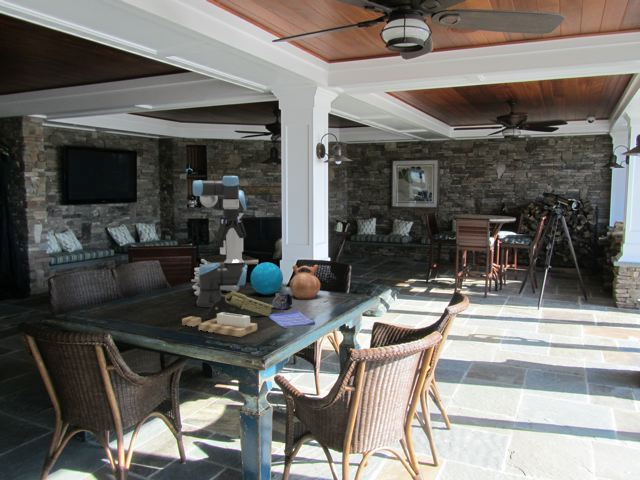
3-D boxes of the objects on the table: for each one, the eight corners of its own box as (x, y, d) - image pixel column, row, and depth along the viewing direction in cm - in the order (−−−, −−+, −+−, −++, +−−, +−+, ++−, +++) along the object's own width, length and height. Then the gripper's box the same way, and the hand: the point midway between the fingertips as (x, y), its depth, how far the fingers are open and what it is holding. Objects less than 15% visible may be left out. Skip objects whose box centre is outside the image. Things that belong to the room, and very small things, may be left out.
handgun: (206, 315, 268) (217, 284, 268) (262, 332, 276) (273, 303, 276) (206, 317, 264) (218, 286, 264) (263, 335, 272) (274, 304, 272)
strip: (217, 328, 246) (216, 313, 246) (222, 326, 250) (222, 311, 249) (245, 333, 239) (244, 317, 238) (250, 331, 242) (250, 315, 242)
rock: (291, 305, 285) (283, 288, 287) (274, 314, 287) (267, 296, 289) (298, 305, 295) (290, 289, 297) (282, 313, 297) (275, 297, 300)
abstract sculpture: (246, 261, 341) (199, 249, 334) (244, 281, 322) (194, 269, 315) (236, 289, 352) (191, 278, 345) (234, 310, 332) (186, 299, 326)
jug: (322, 294, 327) (322, 262, 325) (317, 300, 309) (317, 267, 307) (293, 293, 330) (293, 262, 328) (286, 299, 313) (286, 266, 311)
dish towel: (299, 315, 277) (299, 309, 277) (316, 325, 255) (316, 320, 255) (267, 318, 270) (267, 312, 270) (282, 329, 248) (282, 323, 248)
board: (198, 330, 246) (198, 323, 246) (216, 323, 257) (216, 317, 257) (240, 336, 234) (240, 330, 234) (257, 330, 246) (257, 323, 245)
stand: (182, 325, 255) (182, 318, 255) (190, 322, 261) (190, 316, 260) (192, 326, 252) (192, 320, 252) (201, 323, 257) (201, 317, 257)
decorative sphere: (258, 290, 341) (257, 259, 339) (287, 292, 335) (287, 260, 333) (245, 296, 321) (245, 264, 320) (276, 298, 316) (276, 265, 314)
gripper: (220, 209, 239) (221, 256, 241) (253, 207, 261) (253, 250, 263) (207, 209, 243) (208, 255, 245) (240, 207, 265) (241, 249, 267)
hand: (232, 252), depth 254 cm, fingers open, 13 cm apart
